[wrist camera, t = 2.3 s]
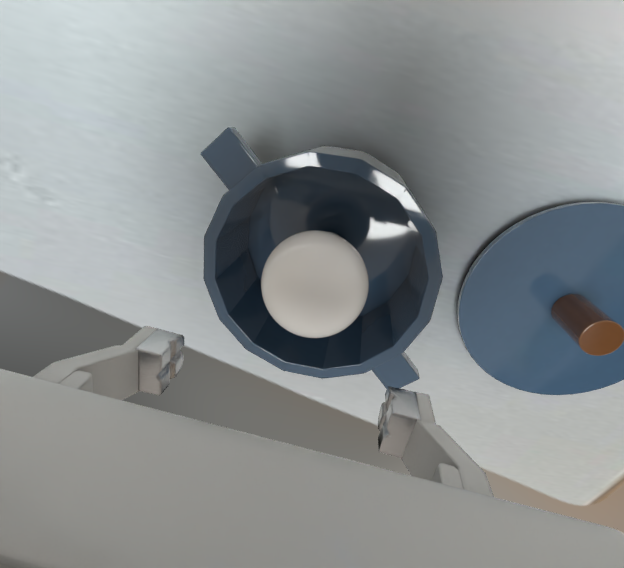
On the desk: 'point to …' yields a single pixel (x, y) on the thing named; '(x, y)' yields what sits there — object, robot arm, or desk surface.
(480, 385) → the desk surface
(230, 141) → the pot
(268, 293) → the lightbulb
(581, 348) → the lid
